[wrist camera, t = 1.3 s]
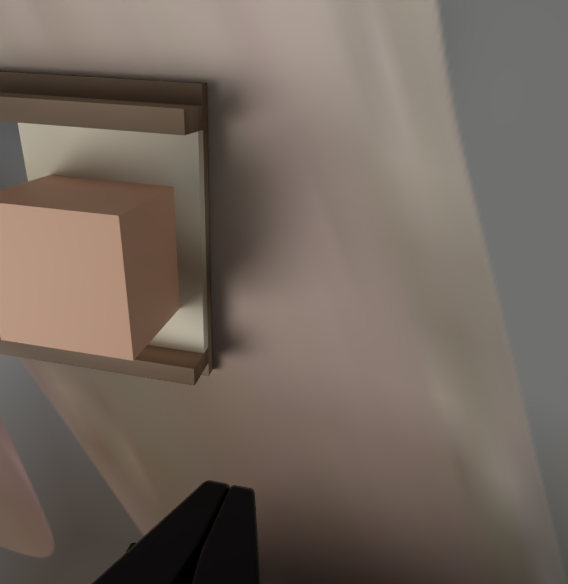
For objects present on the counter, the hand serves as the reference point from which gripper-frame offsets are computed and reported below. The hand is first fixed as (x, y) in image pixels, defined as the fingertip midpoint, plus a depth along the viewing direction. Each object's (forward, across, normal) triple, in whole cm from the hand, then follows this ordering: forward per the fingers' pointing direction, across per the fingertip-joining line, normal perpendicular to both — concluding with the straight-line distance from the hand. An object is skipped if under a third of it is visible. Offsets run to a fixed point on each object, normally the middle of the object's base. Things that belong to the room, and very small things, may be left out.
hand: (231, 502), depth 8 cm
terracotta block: (+11, +8, 0) cm, 13 cm away
